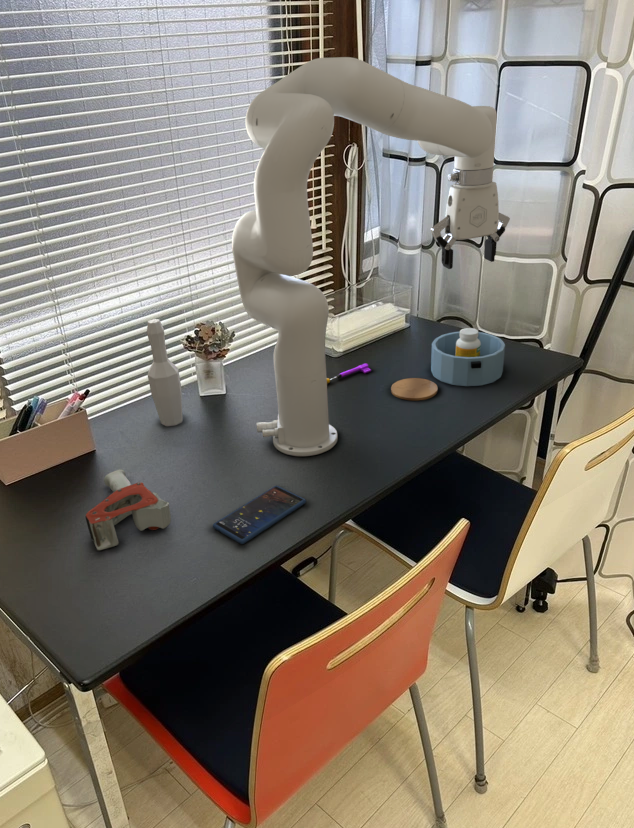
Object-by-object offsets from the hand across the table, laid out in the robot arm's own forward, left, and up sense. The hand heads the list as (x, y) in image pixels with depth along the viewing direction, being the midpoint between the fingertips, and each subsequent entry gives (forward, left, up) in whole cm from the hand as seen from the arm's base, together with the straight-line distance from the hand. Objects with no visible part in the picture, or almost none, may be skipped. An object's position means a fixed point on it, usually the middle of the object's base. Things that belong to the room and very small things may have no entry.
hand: (468, 263), depth 148 cm
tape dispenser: (-66, -50, -24) cm, 86 cm away
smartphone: (-44, -52, -24) cm, 72 cm away
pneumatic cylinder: (-27, -1, -24) cm, 37 cm away
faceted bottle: (-64, -16, -24) cm, 70 cm away
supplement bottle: (+1, -1, -24) cm, 24 cm away
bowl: (+1, -1, -24) cm, 24 cm away
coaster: (-12, -9, -24) cm, 29 cm away
